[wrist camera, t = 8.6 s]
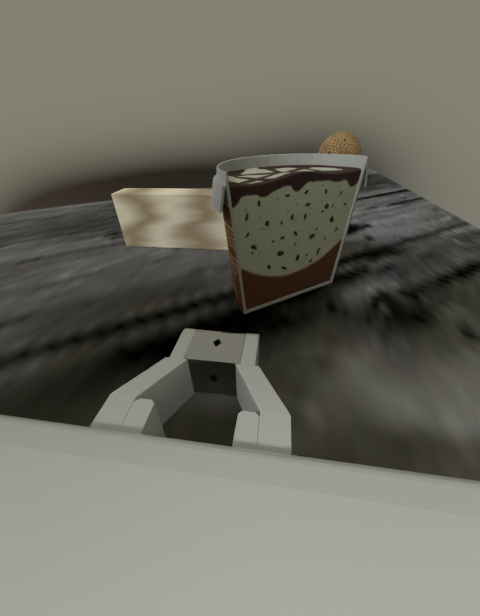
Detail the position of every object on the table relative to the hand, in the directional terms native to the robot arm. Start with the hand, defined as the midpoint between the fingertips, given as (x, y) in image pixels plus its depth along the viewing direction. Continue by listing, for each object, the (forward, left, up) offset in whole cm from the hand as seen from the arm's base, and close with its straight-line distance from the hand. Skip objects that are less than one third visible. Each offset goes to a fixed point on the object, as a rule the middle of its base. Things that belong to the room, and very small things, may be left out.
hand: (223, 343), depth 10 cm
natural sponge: (+13, +61, -5) cm, 63 cm away
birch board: (-7, +22, -5) cm, 24 cm away
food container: (+1, +14, -5) cm, 15 cm away
